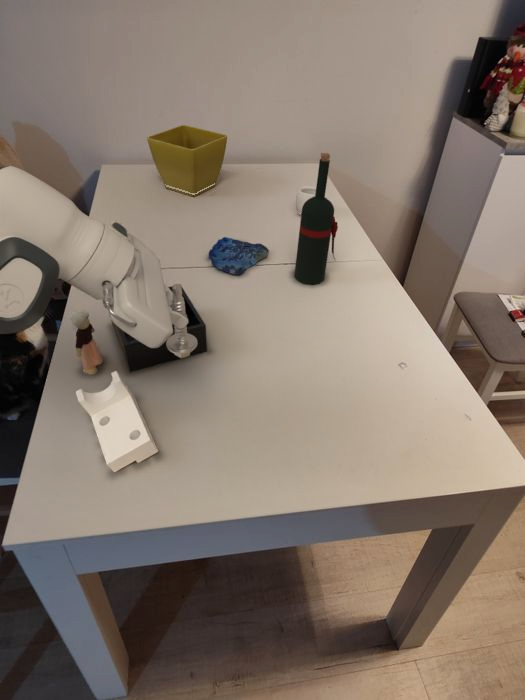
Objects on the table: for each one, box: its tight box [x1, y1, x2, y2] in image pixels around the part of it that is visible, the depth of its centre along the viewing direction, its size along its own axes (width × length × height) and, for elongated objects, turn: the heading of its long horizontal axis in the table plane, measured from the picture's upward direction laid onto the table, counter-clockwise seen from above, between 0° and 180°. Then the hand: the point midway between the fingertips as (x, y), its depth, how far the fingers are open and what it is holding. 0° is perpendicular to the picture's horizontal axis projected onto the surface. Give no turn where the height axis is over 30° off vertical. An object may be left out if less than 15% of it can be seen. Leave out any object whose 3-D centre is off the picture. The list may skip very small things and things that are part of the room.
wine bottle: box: [293, 152, 339, 286], centre depth 104 cm, size 8×10×30 cm
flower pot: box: [146, 124, 228, 198], centre depth 149 cm, size 19×19×17 cm
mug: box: [295, 185, 316, 217], centre depth 141 cm, size 12×8×8 cm
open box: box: [110, 285, 208, 373], centre depth 90 cm, size 16×16×7 cm
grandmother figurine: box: [69, 309, 104, 376], centre depth 81 cm, size 8×4×13 cm, turn 8°
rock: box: [208, 236, 270, 276], centre depth 119 cm, size 15×17×2 cm
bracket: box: [75, 370, 159, 473], centre depth 71 cm, size 13×7×8 cm, turn 29°
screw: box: [166, 283, 197, 359], centre depth 67 cm, size 13×5×5 cm
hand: (183, 315), depth 67 cm, fingers closed on screw, 2 cm apart
